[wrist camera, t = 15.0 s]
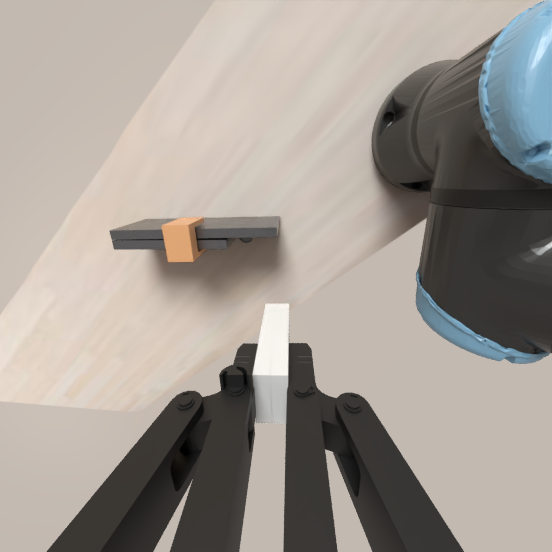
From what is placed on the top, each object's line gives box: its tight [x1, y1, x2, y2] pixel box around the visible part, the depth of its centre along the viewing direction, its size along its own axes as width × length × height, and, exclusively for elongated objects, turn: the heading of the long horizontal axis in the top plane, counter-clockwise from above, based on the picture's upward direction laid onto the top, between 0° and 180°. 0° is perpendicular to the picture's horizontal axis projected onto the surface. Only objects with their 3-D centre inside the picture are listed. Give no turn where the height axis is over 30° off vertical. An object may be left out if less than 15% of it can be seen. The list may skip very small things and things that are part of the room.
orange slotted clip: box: [162, 217, 207, 262], centre depth 34 cm, size 3×4×6 cm
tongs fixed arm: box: [110, 217, 280, 243], centre depth 38 cm, size 22×3×9 cm, turn 92°
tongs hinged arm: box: [112, 238, 236, 249], centre depth 38 cm, size 15×1×9 cm, turn 91°
